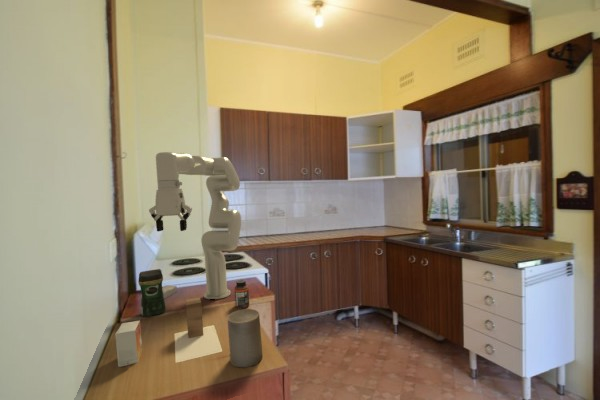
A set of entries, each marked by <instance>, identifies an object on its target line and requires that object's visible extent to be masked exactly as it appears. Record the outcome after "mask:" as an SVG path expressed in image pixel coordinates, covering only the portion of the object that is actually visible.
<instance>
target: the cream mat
mask: <svg viewBox="0 0 600 400" xmlns="http://www.w3.org/2000/svg"><path fill="white" fill-rule="evenodd" d="M222 352H223V349H222V345H221V343H220V340H219V336H218V332H217V330H216V328H215V325H214V324H213V325H208V326H203V335H202V336H197V337H193V338H188V330H183V331H180V332H176V333H174V354H175V364H177V363H182V362H185V361H189V360H193V359H198V358H202V357H205V356H206V357H207V356H209V355H213V354H214V355H215V354H218V353H222Z"/></svg>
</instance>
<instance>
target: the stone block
mask: <svg viewBox="0 0 600 400" xmlns="http://www.w3.org/2000/svg"><path fill="white" fill-rule="evenodd" d="M162 290H163V295H164V300H166V299H167V298H169V297H170V295H171V296H172V295H174V294H176V293H177V291H178V287H177V285H169V284H167V285H162ZM175 292H176V293H175ZM173 293H174V294H173Z"/></svg>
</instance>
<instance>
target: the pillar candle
mask: <svg viewBox="0 0 600 400" xmlns="http://www.w3.org/2000/svg"><path fill="white" fill-rule="evenodd" d="M226 319H227V331H228V344H229V346H228V347H229V357H230V359H229V360H230V364H231V365H233V366H234V367H240V368H249V367H253V366H255V365H256V364H259V362H260V361H262V358H263V344H262V343H263V342H262V330H261V322H260V321H261V320H260V313H259V311H258V310H257V309H252V308H241V309H237V310H235V311H233V312H231V313H230V314H229V315H228V316H227V317H226Z"/></svg>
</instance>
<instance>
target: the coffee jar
mask: <svg viewBox="0 0 600 400" xmlns="http://www.w3.org/2000/svg"><path fill="white" fill-rule="evenodd" d="M137 281H138V285H139V287H140V311H141V312H140V313H141V316H142V317H145V316H147V317H152V315H153V316H157V315H160V314H163V313H165V312H166V310H167V309H166V299H164V295H163V290H162V287H163V281H164V275H163V273H162V270H161V269H160V268H157V269H149V270H144V271H143V270H142V271H140V272H139V273H138V280H137Z"/></svg>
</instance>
